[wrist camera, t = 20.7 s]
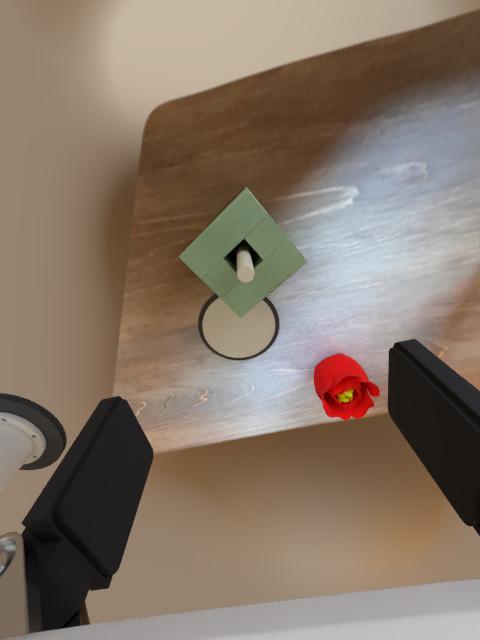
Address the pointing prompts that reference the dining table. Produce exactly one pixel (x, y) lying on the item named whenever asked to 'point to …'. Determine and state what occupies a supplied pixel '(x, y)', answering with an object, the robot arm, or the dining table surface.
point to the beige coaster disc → (238, 329)
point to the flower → (343, 387)
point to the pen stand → (268, 262)
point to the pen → (244, 261)
